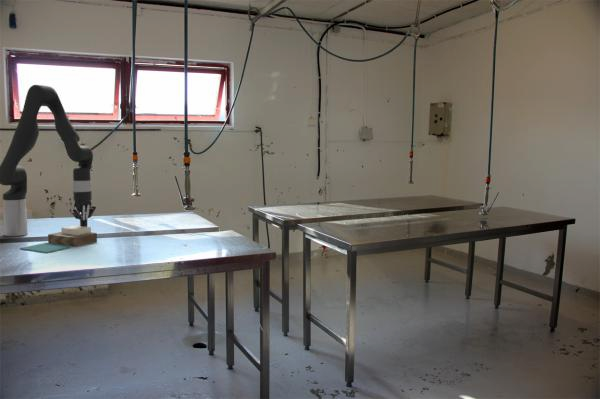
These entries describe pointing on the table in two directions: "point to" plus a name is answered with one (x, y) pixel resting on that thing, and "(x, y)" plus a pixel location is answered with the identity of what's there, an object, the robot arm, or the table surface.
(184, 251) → the table surface
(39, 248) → the mat
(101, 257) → the table surface
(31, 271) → the table surface
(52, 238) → the deck
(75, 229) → the cream rectangular tile
